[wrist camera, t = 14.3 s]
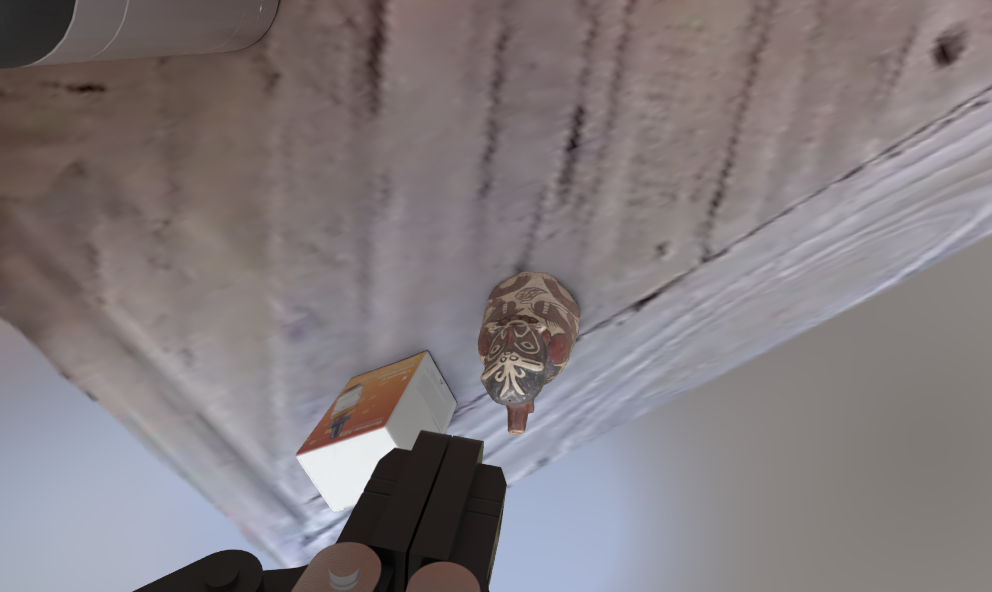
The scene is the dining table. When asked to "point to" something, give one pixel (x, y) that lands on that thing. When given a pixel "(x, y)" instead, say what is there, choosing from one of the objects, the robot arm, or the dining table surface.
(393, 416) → the small box
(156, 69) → the dining table surface
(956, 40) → the dining table surface
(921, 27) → the dining table surface
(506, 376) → the figurine
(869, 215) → the dining table surface
